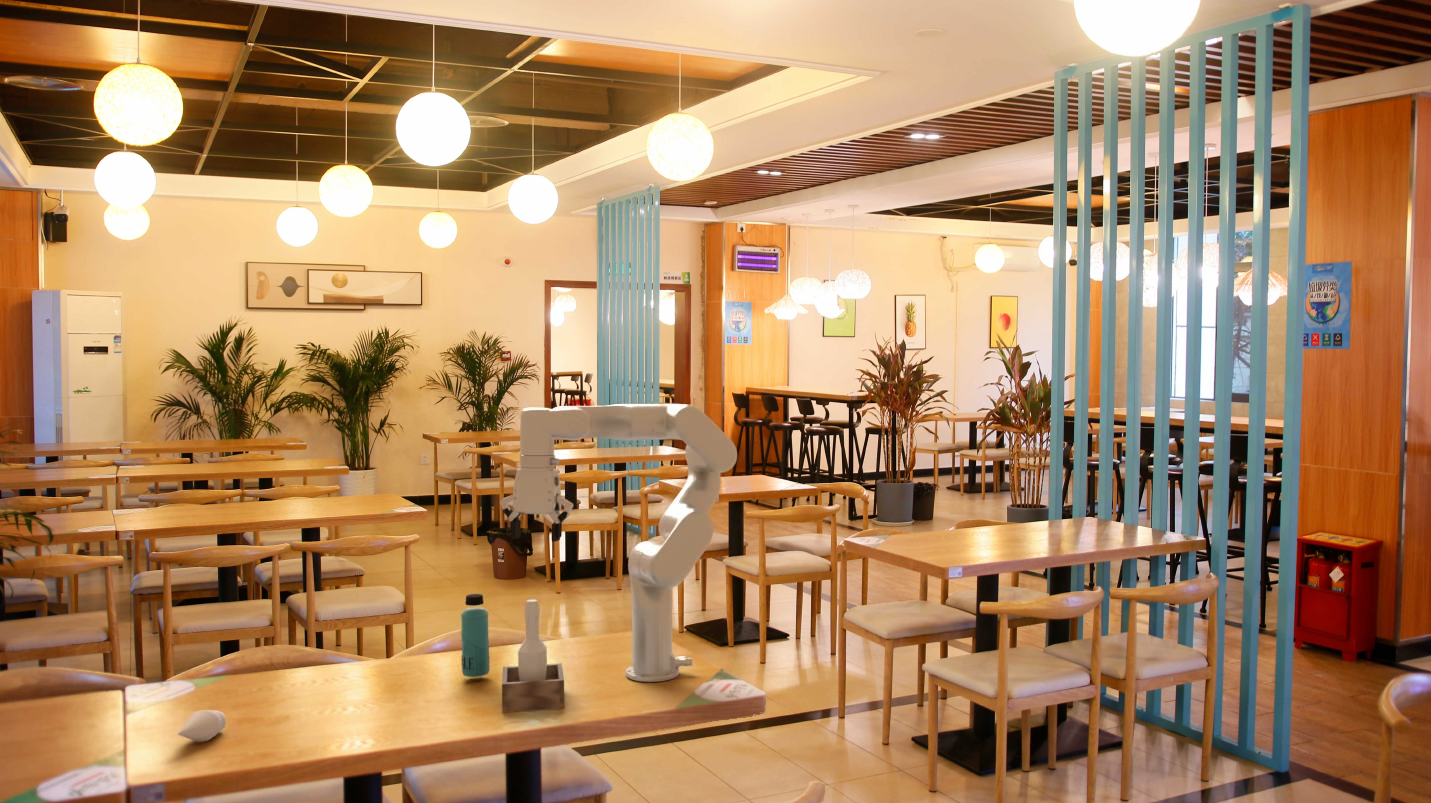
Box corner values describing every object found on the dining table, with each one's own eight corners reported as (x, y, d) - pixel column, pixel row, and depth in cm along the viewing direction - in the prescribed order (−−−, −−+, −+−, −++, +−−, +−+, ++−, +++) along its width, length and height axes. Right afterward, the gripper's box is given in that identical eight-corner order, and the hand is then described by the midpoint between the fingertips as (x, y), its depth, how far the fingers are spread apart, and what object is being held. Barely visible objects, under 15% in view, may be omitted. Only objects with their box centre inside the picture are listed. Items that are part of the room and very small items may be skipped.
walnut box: (561, 689, 230) (561, 663, 230) (564, 707, 218) (564, 680, 217) (503, 693, 228) (502, 666, 228) (502, 712, 215) (501, 683, 215)
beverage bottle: (493, 675, 241) (492, 591, 241) (484, 684, 235) (483, 597, 234) (467, 674, 242) (465, 591, 242) (457, 683, 236) (456, 597, 235)
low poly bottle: (525, 695, 227) (523, 596, 226) (552, 696, 225) (550, 597, 225) (513, 704, 220) (512, 603, 220) (541, 705, 219) (540, 604, 218)
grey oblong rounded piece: (173, 757, 190) (216, 742, 205) (199, 736, 191) (240, 722, 205) (154, 731, 191) (199, 717, 206) (180, 710, 191) (223, 698, 206)
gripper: (579, 463, 228) (578, 539, 229) (509, 460, 233) (508, 535, 233) (566, 465, 221) (564, 544, 221) (493, 462, 226) (492, 539, 226)
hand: (535, 539), depth 227 cm, fingers open, 9 cm apart
